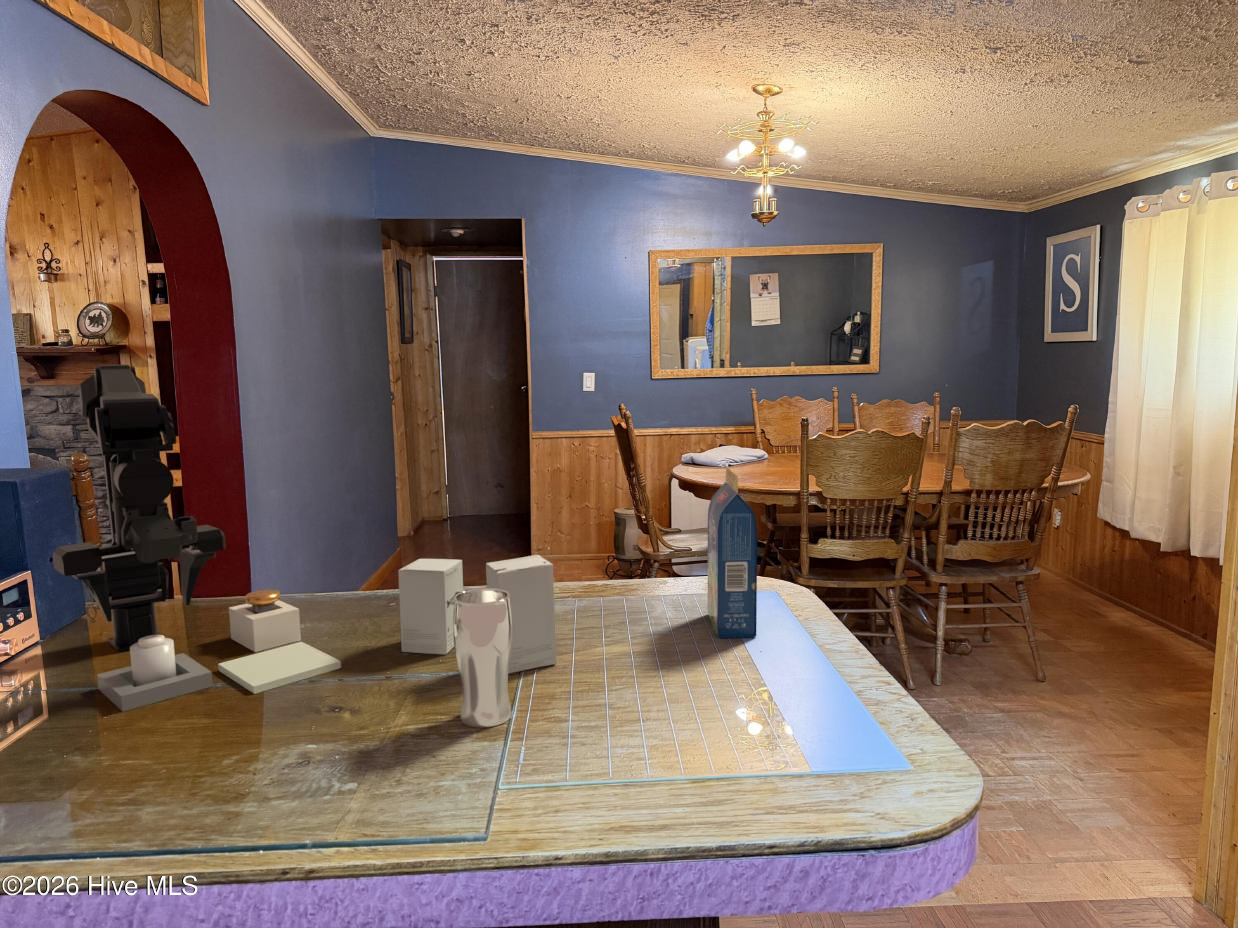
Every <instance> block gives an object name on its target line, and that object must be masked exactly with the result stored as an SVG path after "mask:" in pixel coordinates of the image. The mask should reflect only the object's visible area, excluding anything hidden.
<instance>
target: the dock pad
mask: <svg viewBox="0 0 1238 928" xmlns="http://www.w3.org/2000/svg"><path fill="white" fill-rule="evenodd" d="M341 662H342V661H341V660H339V659H338V658H335V657H333V656H331V655H329V654H327V653H326V652H324V651H321V650H319V649H317V648H315V647H313V646H312V645H309V644H308V643H305V642H303V641H297V642H293V643H290V644H289V645H288V644H286V645H282V646H278V647H275V648H271V649H267V650H263V651H260V652H256V653H254V654H250V655H246V656H241V657H239V658H235V659H231V660H227V661H223V662H220V663H218V664H217V667H218V672H220V673H222V674H223V675H225V677H228V678H229V679H231V680H232V681H234V682H235V683H237V684H238V685H240V686H241V687H243V688H245V689H246V690H247V691H249V692H250V693H252V694H253V695H254V694H258V693H262V692H265V691H268V690H272V689H275V688H278V687H283V686H285V685H289V684H292V683H296V682H298V681H302V680H305V679H309V678H312V677H316V676H319V675H323V674H326V673H329V672H333V671H336V670H339V669H341V668H342V663H341Z"/></svg>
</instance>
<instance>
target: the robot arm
mask: <svg viewBox="0 0 1238 928" xmlns="http://www.w3.org/2000/svg"><path fill="white" fill-rule="evenodd" d="M146 390H147V389H146V383H145V381H143V380H142V379H141V378H139V376H137V373H136V368H135V366H130V365H129V364H99V366H94V367H93V374H92V375H90V376H89V377H88V378H86V379H85V380H83V381H82V382H81V383H80V384H79V405H80V413H81V419H86V422H87V430H88V432H89V433H90V434H91V435H92V436H93V437H94V438H95V440H96V441H97V442H98V443H99V448H100V453H101V455H102V459H103V468H104V477H105V487H106V496H107V505H108V506H107V507H108V513H109V515H108V516H109V523H110V533H111V542H110V544H109V546H102V547H99V546H97V545H95V544H93V543H92V542H90V541H88V542H80V543H74V544H67V545H60V546H57V547H56V549H54V551H53V553H52V561H53V562H52V563H53V569H54V570H55V571H57V572H58V573H60V574H61V575H63V576H64V577H66V576H67V577H72V578H74V579H75V580H76V581H82V582H83V583H84V584H85V585H84V586H86V588H87V589H88V590H89V592H90V594H91V596H92V597H93V599H94V601H95V603H96V604H97V606H98V609H99V610H100V611H101V614H102V615H103V617H104V619H105V621H106V622H108V623H110V622H112V624H113V627H112V628H113V636H114V637H109V638H107V639H106V640H107V643H108V644H109V645H110V646H112V647H113V648H114V649H115V650H117V651H118V652H123V651H126V650H127V651H128V650H130V647H131V646H132V645H133V644H135V643H138V640H139V639H140V638H143V637H146V636H150V635H162V634H161V633H160V632H158V626H157V625H158V624H157V615H156V614H157V613H156V603H163V602H164V603H165V602H167V599H169V598H170V593H169V592H170V591H169V571H168V570H167V569H166V568H165V566H164V563H163V562H159V560H165V559H178V558H179V572H180V574H179V575H180V591H181V597H182V601H183V605H185V606H190V605H191V601H192V599H193V595H194V590H195V588H196V584H197V581H198V579H199V575H200V573H201V571H202V568H203V567H204V565H205V564H206V563H207V561H209V559H211V558H216V555H217V553H216V552H219V551H224V550H226V549H227V544H226V543H227V542H226V539H227V538H226V535H225V532H223V531H222V530H221V529H220V528H218V527H215V526H211V525H210V524H204V525H203V524H202V525H197V519H196V518H195V517H194V516H193V515H185V516H179V517H176V518H173V519H172V516H171V514H170V513H169V507H168V503H167V502H166V501H165V500H166V499H167V498H168V497H169V496H170V494H171V492H172V490H173V488H174V484H175V483H174V482H175V480H174V476H173V474H172V472H171V469H170V468H169V467H168V466H167V464H165V463H163V461H162V458H161V453H160V452H172V451H173V452H174V445H176V444H177V436H176V431H175V427H174V423H173V418H172V414H171V413H170V412H168V408H167V407H166V405H161V402H160V400H159V398H158V397H157V396H156V395H154V394H153V393H147V391H146ZM101 566H102V569H101ZM163 636H164V637H165V638H167V637H166V636H165V635H163Z"/></svg>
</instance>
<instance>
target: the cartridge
mask: <svg viewBox="0 0 1238 928" xmlns="http://www.w3.org/2000/svg"><path fill="white" fill-rule="evenodd" d="M164 636H165V635H163V634H161V635H150V636H146V637H143V638H140V639H139V640H138V643H135V644H133V645H132V646H131V647H130V649H129V654H130V662H131V664H130V666H132V677H133V685H132V686H134V687H137V686H141V685H145V684H149V683H152V682H156V681H160V680H164V679H167V678H171V677H175V676H176V665H175V655H176V653H175V643H174V640H173V639H172V638H169V637H166V636H165V637H166V638H165V637H164Z"/></svg>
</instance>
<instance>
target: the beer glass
mask: <svg viewBox="0 0 1238 928" xmlns="http://www.w3.org/2000/svg"><path fill="white" fill-rule="evenodd" d="M453 636H454V652H455V656H456V661H457V666H458V670H459V674H460V679H461V684H462V686H461V687H462V703H461V708H460V718H459V719H460V721H461V722H462V724H464V725H465V726H467V727H470V728H471V727H472V728H478V729H479V728H480V729H481V728H484V729H485V728H493V727H497V726H500V725H503V724H505V723H506V722H508V721H509V719H511V717H512V713H513V712H512V707H511V702H510V697H509V692H508V690H509V689H508V684H509V683H508V679H509V674H508V672H509V665H510V659H511V651H512V641H513V624H512V612H511V603H510V594H509V592H507V591H505V590H502V589H496V588H487V587H482V588H481V587H480V588H473V589H471V588H470V589H467V590H463V592H460V593H458V594H456V595H455V596H454V611H453Z"/></svg>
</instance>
